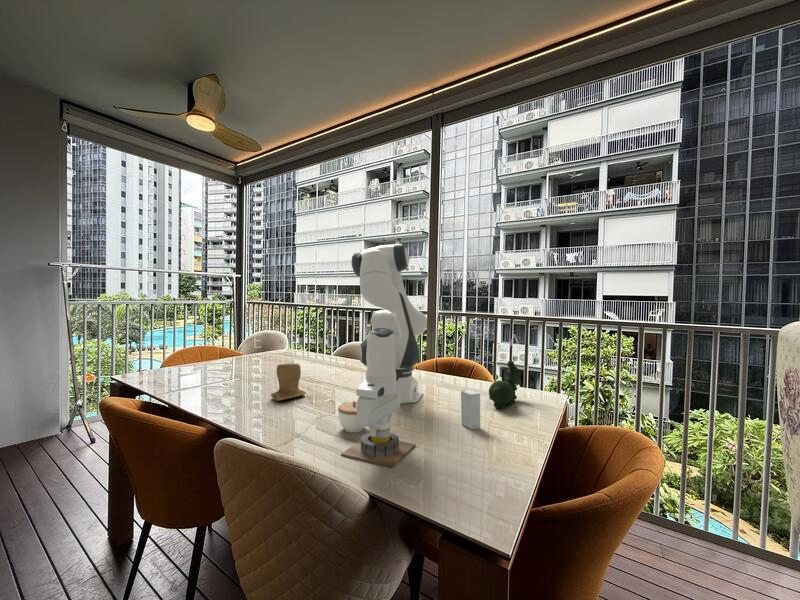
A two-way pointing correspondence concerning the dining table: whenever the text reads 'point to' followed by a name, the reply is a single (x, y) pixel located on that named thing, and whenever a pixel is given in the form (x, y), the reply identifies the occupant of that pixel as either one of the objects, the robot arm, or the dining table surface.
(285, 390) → the brown flared stand
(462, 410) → the skincare box
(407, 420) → the dining table surface
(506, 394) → the toy figurine
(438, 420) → the dining table surface
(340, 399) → the dining table surface
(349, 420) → the lidded jar
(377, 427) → the supplement bottle
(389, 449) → the grey ring on slab
